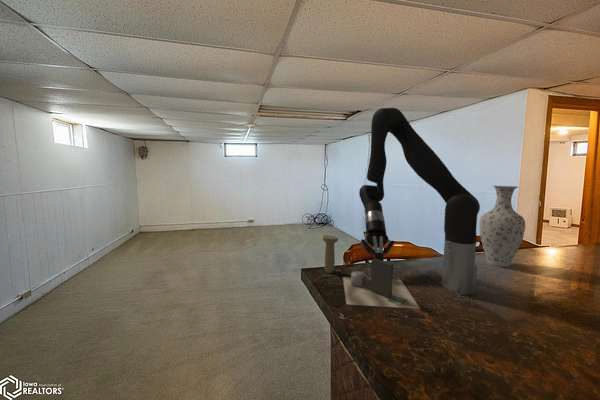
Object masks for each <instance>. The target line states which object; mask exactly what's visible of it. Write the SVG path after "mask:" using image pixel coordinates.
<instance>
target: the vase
mask: <svg viewBox="0 0 600 400" xmlns="http://www.w3.org/2000/svg"><path fill="white" fill-rule="evenodd" d="M492 187H493V188H494V189H495V193H496V202H495V205H494V207H492V209H491V210H488V211H487V212H484V213H483V214H482V215H481V216H480V220H479V238H480V240H481V243H482V248H483V250H484V251H483V252H484V254H485V255H484V256H485V259H486V264H487V265H490V266H493V267H496V266H497V267H496V268H502V267H508V268H510V267H511V263H512V261H513V259H514V257H515V255H516V253H517V252H518V249H520V246H521V244H522V242H523V240H524V235H525V230H526V221H525V218H524V217H523V216H522V215H521V214H519V213H517V212H516V211H515V210H514V208H513V205H512V198H513V194H514V192H515V190H516V189H517V188H519V186H514V185H492Z"/></svg>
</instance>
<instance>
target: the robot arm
mask: <svg viewBox="0 0 600 400" xmlns="http://www.w3.org/2000/svg"><path fill="white" fill-rule="evenodd" d="M370 126H371V128H370V129H371V131H370V132H371V133H370V134H371V135H370V136H371V138H370V153H369V154H370V155H369V162H368V167H367V172H366V179H367V181H369V182H371V183H374V184H376V185H371V184H370V185H369V184H363V185H362V186H361V187H360V188H359V192H358V193H359V194H358V195H359V198H360V201H361V203H362V206H363V208H364V214H365V218H364V221H365V222H364V223H365V232H366V236H365V238H364V239H361V240H360V241H361V242H360V245H361V247H363V249H364V250H365V251H366V252H367V253H368V254H370V255H373V257H374V258H375V259H378V260H382V261H385V260H384V259H385V258H384V256H387V254H388V253H389V252H390V251H391V249H392V248H394V247H393V246H394V245H395V240H391V239H389V237H388V235H387V229H386V221H385V217H384V213H383V212H384V211H383V206H382V203H381V201H383V200H384V199H385V189H384V179H385V178H384V177H385V173H386V169H387V154H386V139H387V136H388V134H389V133H390V134H391V135H392V136H393V137H394V138H395V139H396V140H397V141H398V142H399V144H400V146H401V148H402V152H403V155H404V159H405V161H406V162H407V164H408V165H409V167H410V168H411V169H412V170H413V171H414V173H415V174H417V176H418V177H419V178H420V179H421V180H422V181H424V182H425V183H427V184H428V185H429V186H430V187H431V188H433V189H434V190H435V191H436V192H437V193H438V194H439V196H440V197H441V198H442V199H443V201H444V202H445V209H444V220H443V221H444V224H443V225H444V228H443V231H444V232H443V233H444V243H443V244H444V246H443V247H444V248H443V261H442V262H443V263H442V272H441V273H442V275H441V277H442V278H441V285H442V286H443V287H444V288H446V289H448V290H451V291H455V292H457V293H458V294H459V296H460V295H462V296H469V295H471V294H473V295H474V294H476V283H477V274H478V266H477V265H476V263H475V261H476V249H477V240H478V239H477V237H478V236H477V224H478V223H477V222H478V214H479V212H480V211H481V209H480V208H481V205H480V204H481V203H480V202H479V200H478V199H477V197H475V196H474V195H473V194H472V193H471V192H470V191H468V190H467V189H466V187H464V186H463V185H462V184H461V183H460V182H459V181H458V180H457V179H456V178H455V176H454V175H453V173H451V171H450V170H449V168H448V167H447V166H446V164H445V163H444V162H443V161H442V159H441V158H440V156H438V154H436V152H435V151H434V150H433V149H432V148H431V147H430V146H429V144H427V142H426V141H425V140H424V139H423V138H422V137H421V136H420V135H419V133H417V132H416V131H415V129H414V128H413V127H412V126H411V124H410V122H409V121H408V119H407V117H406V116H405V115H404V113H402V111H401V110H400V109H398V108H395V107H383V108H378V109H377V110H376V111H375V112H374V113H373V116H372V118H371V125H370ZM386 245H387V246H386ZM384 246H386V247H385V248H384Z"/></svg>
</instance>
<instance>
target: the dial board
mask: <svg viewBox="0 0 600 400" xmlns="http://www.w3.org/2000/svg"><path fill="white" fill-rule="evenodd" d="M368 278H369V277H368ZM369 279H371V277H370V278H369ZM342 281H343V288H344V295H345V302H346V305H347V306H348V305H351V306H363V307H364V306H367V307H368V306H369V307H384V308H399V309H401V308H402V309H415V310H416V309H417V310H421V307H420V306H419V305H418V303H417V301H416V300H415V298H414V297H413V296H412V294H411V293H410V291H409V290H408V288H407V287H406V285H405V283H404V282H403V281H402V280H401V279H393V284H392V295H395V296H397V297H399V298H402V299H403V301H402V302H400V301H398V300H396V299H394V298H387V297H385V296H382V295H380V294H378V293H376V292H373V291H371V289H370V288H368V287H366V286H354V285H352V284H351V276H350V277H349V276H342Z"/></svg>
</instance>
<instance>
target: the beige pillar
mask: <svg viewBox="0 0 600 400" xmlns="http://www.w3.org/2000/svg"><path fill="white" fill-rule="evenodd" d="M338 239H339V238H338V236H335V235H330V234H328V235H327V234H326V235H322V240H323V242H324V243H325V249H324V251H325V252H324V270H325V273H326V274H327V273H328V274H332V273H334V271H335V270H334V269H335V258H336V257H335V243H337V242H338Z"/></svg>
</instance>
